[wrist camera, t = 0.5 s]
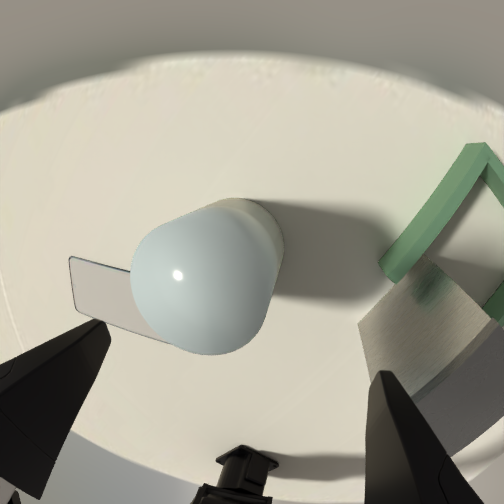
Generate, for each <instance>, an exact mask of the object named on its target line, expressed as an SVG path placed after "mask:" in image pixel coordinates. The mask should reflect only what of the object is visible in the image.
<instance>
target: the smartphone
mask: <svg viewBox="0 0 504 504" xmlns="http://www.w3.org/2000/svg"><path fill="white" fill-rule="evenodd" d="M69 268H70V277H71V284H72V291H73V298H74V304H75V308H76V310H77V311H78V312H79V313H82V314H84V315H87V316H89V317H92V318H94V319H99V320H103V321H104V322H105V323H108V324H110V325H113V326H116V327H119V328H122V329H124V330H127V331H130V332H133V333H136V334H139V335H142V336H145V337H148V338H152V339H155V340H158V341H161V342H165V343H168V344H170V343H169V342H167V341H166V340H164V339H163V338H162V337H161V336H159V335H158V334H157V333H156V332H155V331H154V330H153V329H152V328H151V327H150V326H149V324H148V323H147V322H146V321H145V319H144V318H143V316H142V315H141V313H140V311H139V309H138V307H137V305H136V303H135V300H134V297H133V293H132V289H131V282H130V271H127V270H123V269H119V268H115V267H111V266H107V265H103V264H99V263H97V262H92V261H89V260H85V259H82V258H78V257H74V256H71V257H70V258H69ZM171 345H172V344H171Z"/></svg>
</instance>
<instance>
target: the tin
mask: <svg viewBox="0 0 504 504" xmlns="http://www.w3.org/2000/svg"><path fill="white" fill-rule="evenodd" d="M358 328H359V332H360V336H361V340H362V345H363V349H364V353H365V358H366V362H367V367H368V372H369V376H370V381H371V383H372V381H373V380H374V378H375V376H376V374H377V372H378V371H379V370H390V371H392V372H393V373H394V375H395V376H396V377H397V379H398V380H399V382H400V383H401V384H402V386H403V387H404V389H405V390H406V392H407V393H408V394H409V396H410V397H411V399H412V400H413V402H414V403H415V405H416V406H417V408H418V409H419V411H420V412H421V413H422V415H423V416H424V418H425V419H426V421H427V422H428V424H429V425H430V427H431V428H432V430H433V431H434V433H435V434H436V436H437V438H438V439H439V441H440V442H441V444H442V445H443V447H444V448H445V450H446V451H447V454H448V455H449V456H450V457H452V456H453V455H454V454H456V453H457V452H459V451H460V450H462V449H463V448H464V447H466V446H467V445H469V444H470V443H471V442H473V441H474V440H475V439H476V438H478V437H479V436H480V435H482V434H483V433H484V432H485V431H486V430H488V429H489V428H490V427H491V426H492V425H494V424H495V423H496V422H497V421H498V420H499V419H501V418H502V417H503V416H504V330H503V329H502V327H501V326H500V324H499V323H498V322H497V321H496V320H495V319H494V318H493V317H492V319H491V318H490V317H489V316H488V315H487V314H486V313H485V312H484V311H483V310H482V309H481V308H480V306H479V305H478V304H477V303H476V302H475V301H474V300H473V299H472V298H471V297H470V296H469V295H468V294H467V293H465V292H464V291H463V290H462V289H461V288H460V287H459V286H458V285H457V284H456V283H455V282H454V281H453V280H452V279H451V278H450V277H449V276H448V275H446V274H445V273H444V272H443V271H442V270H441V269H440V268H439V267H438V266H437V265H435V264H434V263H433V262H432V261H431V260H430V259H429V258H428V257H426V256H425V255H424V254H422V256H421V257H420V258H419V259H418V260H417V262H416V263H415V264H414V265H413V266H412V268H411V269H410V270H409V271H408V272H407V273H406V274H405V276H404V277H403V278H402V279H401V280H400V281H399V282H398V284H397V285H396V284H395V285H394V286H393V287H392V288H391V289H390V290H389V291H388V293H387V294H386V295H385V296H384V297H383V298H382V299H381V300H380V301H379V302H378V303H377V304H376V305H375V306H374V307H373V308H372V309H371V310H370V311H369V313H368V314H367V315H366V316H365V317H364V318H363V319H362V320H361V321H360V322H359V323H358Z"/></svg>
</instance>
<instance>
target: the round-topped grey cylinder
mask: <svg viewBox="0 0 504 504" xmlns="http://www.w3.org/2000/svg"><path fill="white" fill-rule="evenodd" d="M283 254H284V240H283V236H282V232H281V229H280V227H279V225H278V223H277V222H276V220H275V219H274V217H273V216H272V215H271V214H270V213H269V212H268V211H267V210H266V209H265V208H263V207H262V206H260V205H259V204H257V203H255V202H253V201H250V200H247V199H241V198H227V199H222V200H219V201H217V202H214V203H212V204H209V205H207V206H204V207H202V208H200V209H197V210H195V211H193V212H190V213H188V214H186V215H183V216H181V217H179V218H176V219H174V220H172V221H170V222H167V223H165V224H163V225H161V226H159V227H157V228H155V229H154V230H152V231H151V232H150V233H149V234H147V235H146V236H145V237H144V239H143V240H142V241H141V242H140V244H139V245H138V247H137V249H136V251H135V253H134V256H133V259H132V263H131V270H130V282H131V289H132V293H133V297H134V300H135V303H136V305H137V307H138V309H139V311H140V313H141V315H142V316H143V318H144V319H145V321H146V322H147V323H148V324H149V326H150V327H151V328H152V329H153V330H154V331H155V332H156V333H157V334H158V335H159V336H161V337H162V338H163V339H164V340H166V341H167V342H169V343H170V344H172V345H174V346H176V347H178V348H180V349H182V350H185V351H188V352H191V353H195V354H200V355H221V354H226V353H230V352H233V351H235V350H237V349H239V348H241V347H243V346H244V345H246V344H247V343H248V342H250V341H251V340H252V339H253V338H254V337H255V335H256V334H257V333H258V331H259V330H260V328H261V326H262V324H263V322H264V319H265V317H266V313H267V310H268V307H269V303H270V300H271V297H272V293H273V290H274V287H275V283H276V280H277V276H278V273H279V270H280V266H281V263H282V259H283Z"/></svg>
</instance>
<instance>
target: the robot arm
mask: <svg viewBox="0 0 504 504" xmlns="http://www.w3.org/2000/svg"><path fill="white" fill-rule="evenodd" d="M110 344H111V336H110V333H109V331H108V328H107V325H106V323H105V322H104V321H103V320H99V319H92V320H90V321H88V322H86V323H84V324H82V325H80V326H78V327H76V328H74V329H71V330H69V331H67V332H65V333H63V334H61V335H59V336H57V337H55V338H53V339H51V340H49V341H47V342H45V343H43V344H41V345H39V346H37V347H35V348H33V349H31V350H29V351H27V352H25V353H23V354H21V355H19V356H17V357H15V358H13V359H11V360H9V361H7V362H5V363H2V364H0V504H21V502H20V498H19V493H18V492H17V491H16V490H15V489H16V488H19V489H21V490H22V491H24V492H25V493H27V494H29V495H30V496H32V497H34V498H36V499H38V500H40V498H41V496H42V494H43V491H44V489H45V486H46V483H47V481H48V479H49V476H50V474H51V472H52V469H53V467H54V464H55V461H56V460H57V457H58V455H59V452H60V450H61V448H62V446H63V444H64V441H65V439H66V437H67V435H68V433H69V431H70V429H71V427H72V425H73V423H74V421H75V419H76V416H77V414H78V412H79V410H80V408H81V406H82V404H83V402H84V400H85V399H86V397H87V395H88V393H89V391H90V389H91V387H92V385H93V383H94V381H95V379H96V377H97V375H98V373H99V370H100V368H101V365H102V363H103V360H104V358H105V356H106V353H107V351H108V349H109V346H110ZM365 444H366V472H365V501H364V504H484V503H483V501H482V500H481V499H480V498H479V496H478V495H477V494H476V493H475V491H474V490H473V489H472V487H470V485H469V484H468V482H467V481H466V480H465V478H464V477H463V476H462V474H461V473H460V471H459V470H458V468H457V467H456V465H455V464H454V462H453V461H452V459H451V458H450V456H449V455H448V454H447V451H446V450H445V448H444V447H443V445H442V444H441V442H440V441H439V439H438V438H437V436H436V434H435V433H434V431H433V430H432V428H431V427H430V425H429V424H428V422H427V421H426V419H425V418H424V416H423V415H422V413H421V412H420V411H419V409H418V408H417V406H416V405H415V403H414V402H413V400H412V399H411V397H410V396H409V394H408V393H407V392H406V390H405V389H404V387H403V386H402V384H401V383H400V382H399V380H398V379H397V377H396V376H395V375H394V373H393V372H392V371H390V370H379V371H378V372H377V374H376V376H375V378H374V380H373V381H372V383H371V385H370V388H369V395H368V411H367V423H366V437H365ZM216 462H217V463H219V464H221V465H223V469H222V472H221V475H220V478H219V481H218V484H217V486H216V487H215V486H211V485H208V484H206V483H204V484H203V486H202V487H199V489H198V492H197V494H196V496H195V498H194V499H193V501H192V502H191V503H190V504H272V498H273V497H269V496H268V497H265V496H262V495H263V491H264V486H265V484H266V480H267V475H268V472H269V471H271V470H273V469H275V468H277V467H279V463H277V462H275V461H273V460H271V459H268V458H266V457H264V456H262V455H260V454H258V453H256V452H254V451H252V450H250V449H248V448H246V447H244V446H238V447H236V448H234V449H232V450H231V451H229V452H227V453H225V454H223V455H222V456H220V457H218V458H216Z"/></svg>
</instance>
